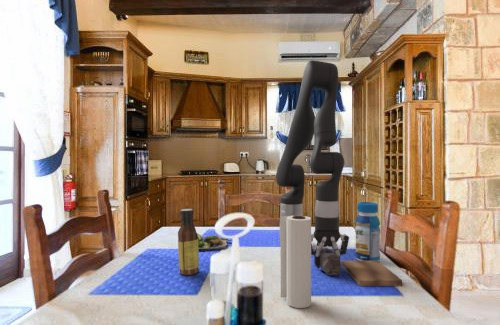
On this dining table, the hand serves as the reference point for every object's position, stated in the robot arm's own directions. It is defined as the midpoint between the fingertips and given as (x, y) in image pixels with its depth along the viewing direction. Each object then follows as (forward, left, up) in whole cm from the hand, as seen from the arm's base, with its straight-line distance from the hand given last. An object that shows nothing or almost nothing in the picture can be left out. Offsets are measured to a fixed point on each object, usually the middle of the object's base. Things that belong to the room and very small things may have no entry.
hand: (326, 267), depth 100 cm
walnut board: (+12, -4, -1) cm, 13 cm away
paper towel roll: (-13, -22, -1) cm, 26 cm away
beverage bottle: (+17, +10, -1) cm, 20 cm away
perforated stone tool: (0, 0, -1) cm, 1 cm away
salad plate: (-43, +30, -2) cm, 52 cm away
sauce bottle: (-44, -1, -1) cm, 44 cm away
